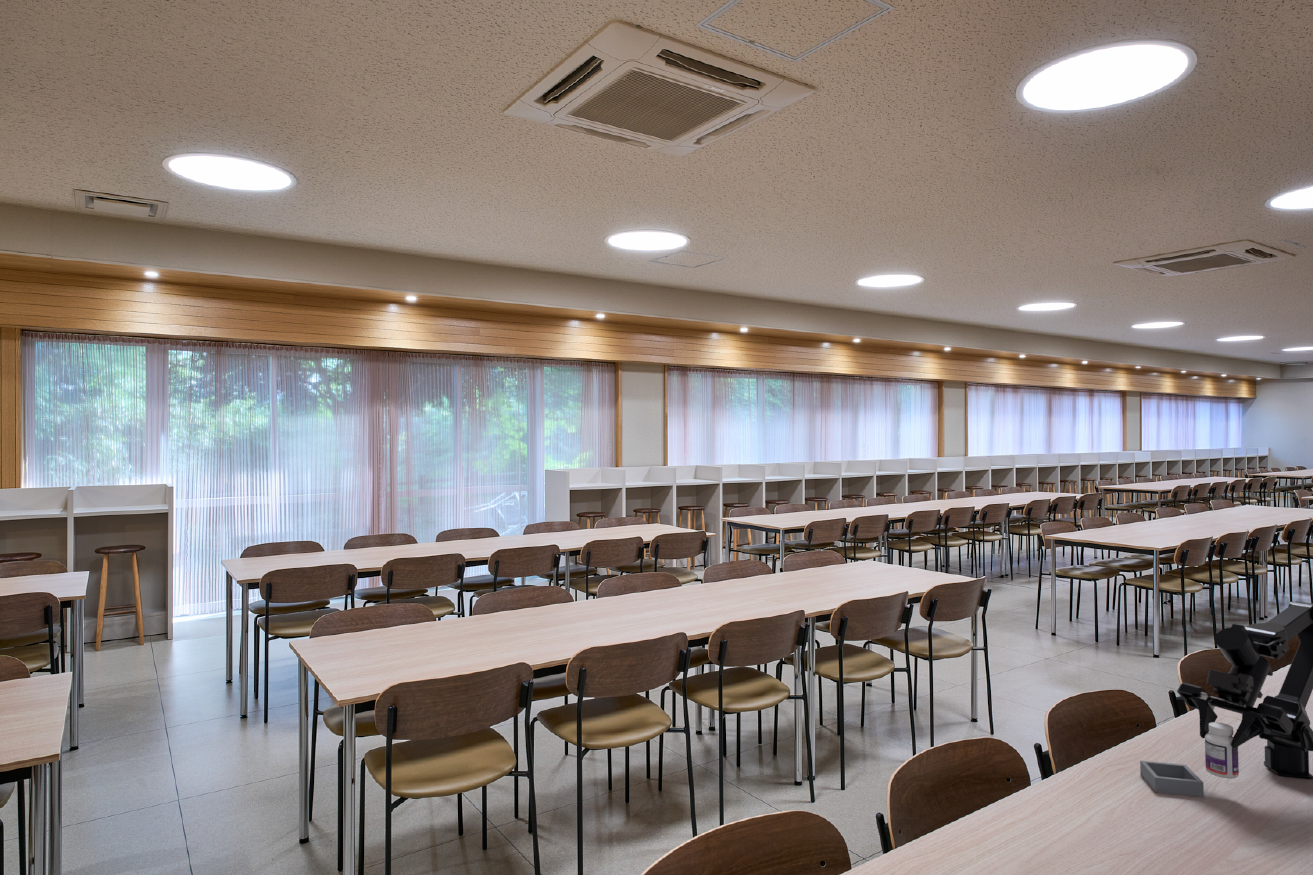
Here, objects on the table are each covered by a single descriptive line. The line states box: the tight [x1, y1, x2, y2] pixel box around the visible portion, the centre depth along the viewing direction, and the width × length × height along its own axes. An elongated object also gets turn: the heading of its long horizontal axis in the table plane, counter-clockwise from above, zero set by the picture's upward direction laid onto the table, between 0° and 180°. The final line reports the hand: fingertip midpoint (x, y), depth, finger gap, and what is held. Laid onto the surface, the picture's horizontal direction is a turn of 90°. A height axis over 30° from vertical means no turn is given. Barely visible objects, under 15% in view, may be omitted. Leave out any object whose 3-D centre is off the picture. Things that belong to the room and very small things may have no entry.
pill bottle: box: [1204, 721, 1240, 780], centre depth 150 cm, size 5×5×10 cm
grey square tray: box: [1139, 760, 1205, 798], centre depth 155 cm, size 9×9×3 cm
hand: (1217, 741), depth 149 cm, fingers closed on pill bottle, 5 cm apart
